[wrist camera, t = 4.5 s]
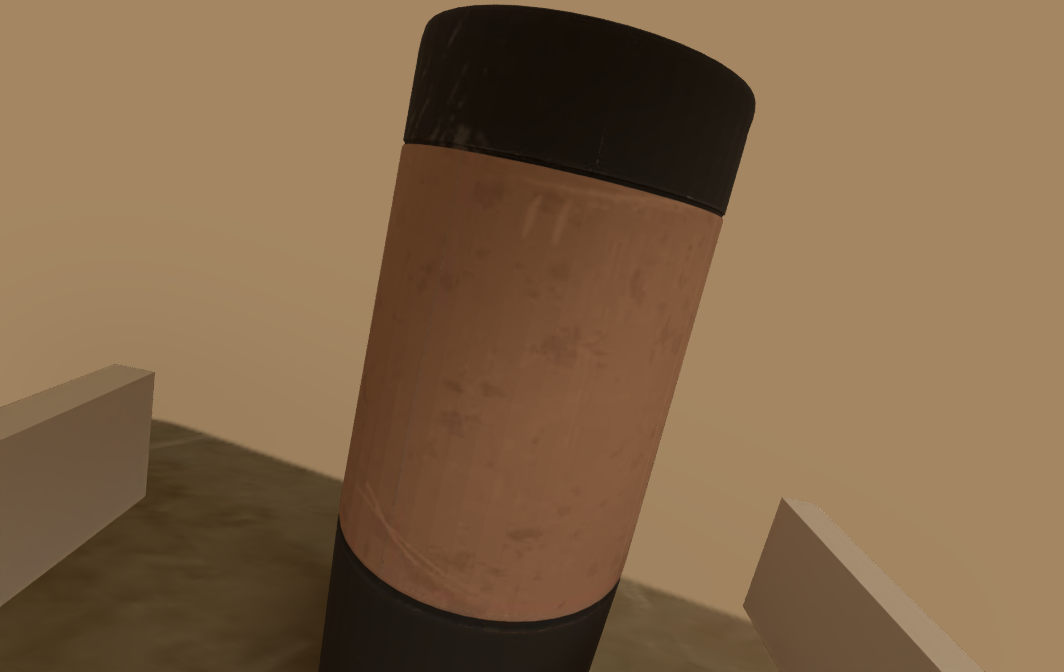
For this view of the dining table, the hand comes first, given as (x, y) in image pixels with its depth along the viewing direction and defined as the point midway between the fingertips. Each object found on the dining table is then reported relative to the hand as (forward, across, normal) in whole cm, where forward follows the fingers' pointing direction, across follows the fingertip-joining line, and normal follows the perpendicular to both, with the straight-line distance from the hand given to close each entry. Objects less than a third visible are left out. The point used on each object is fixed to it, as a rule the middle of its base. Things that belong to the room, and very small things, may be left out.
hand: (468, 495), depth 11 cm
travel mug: (+3, +1, -11) cm, 12 cm away
